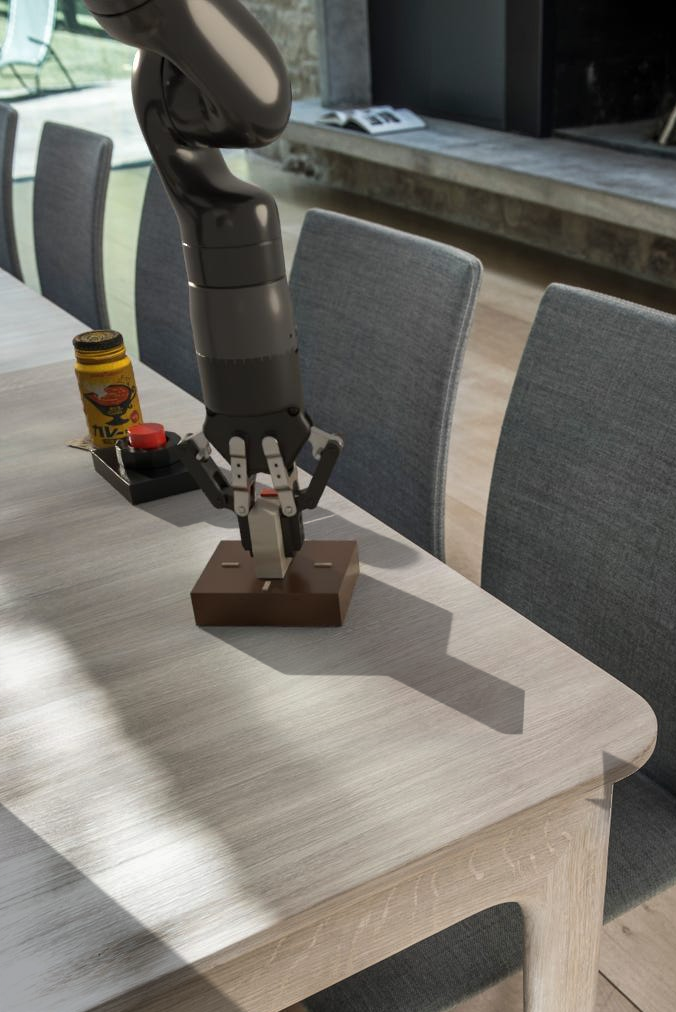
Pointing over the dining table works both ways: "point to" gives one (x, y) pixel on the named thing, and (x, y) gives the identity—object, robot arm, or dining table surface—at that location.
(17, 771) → the dining table surface
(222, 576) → the brown flat block
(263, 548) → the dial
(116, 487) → the button box
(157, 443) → the button
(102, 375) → the condiment
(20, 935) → the dining table surface
